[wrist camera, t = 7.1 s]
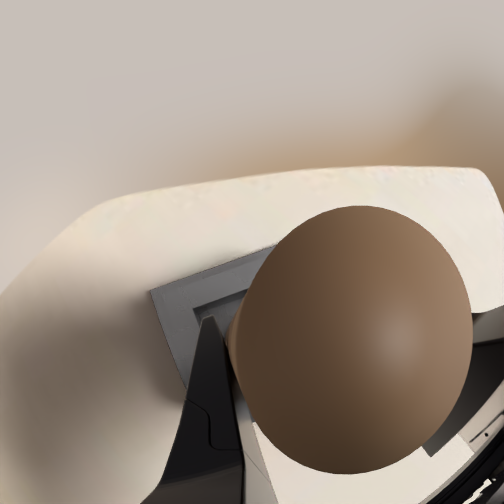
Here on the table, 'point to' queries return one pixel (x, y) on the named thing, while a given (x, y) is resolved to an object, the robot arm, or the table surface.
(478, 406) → the robot arm
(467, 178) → the table surface
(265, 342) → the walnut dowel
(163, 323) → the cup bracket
